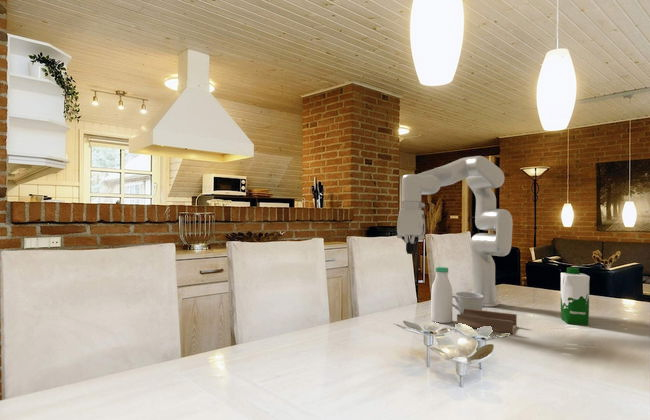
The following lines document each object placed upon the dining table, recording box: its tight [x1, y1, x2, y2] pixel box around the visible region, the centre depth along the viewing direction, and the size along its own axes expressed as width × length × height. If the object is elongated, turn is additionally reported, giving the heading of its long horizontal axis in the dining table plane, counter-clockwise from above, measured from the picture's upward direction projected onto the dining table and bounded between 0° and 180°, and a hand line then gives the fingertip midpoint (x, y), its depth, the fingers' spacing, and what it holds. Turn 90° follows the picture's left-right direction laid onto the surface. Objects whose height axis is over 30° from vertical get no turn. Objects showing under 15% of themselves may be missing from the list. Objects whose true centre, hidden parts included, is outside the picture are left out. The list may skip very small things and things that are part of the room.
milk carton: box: [560, 266, 591, 326], centre depth 158 cm, size 9×9×20 cm
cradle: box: [456, 308, 518, 336], centre depth 150 cm, size 12×18×4 cm
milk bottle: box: [430, 266, 453, 324], centre depth 158 cm, size 8×8×20 cm
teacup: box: [452, 291, 484, 315], centre depth 170 cm, size 14×11×8 cm
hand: (410, 253), depth 164 cm, fingers closed
